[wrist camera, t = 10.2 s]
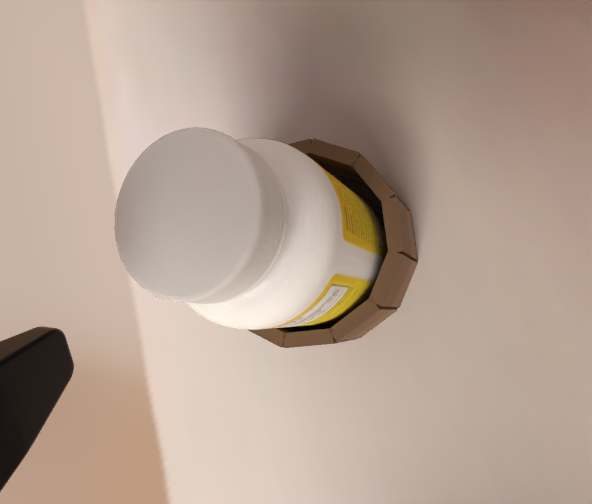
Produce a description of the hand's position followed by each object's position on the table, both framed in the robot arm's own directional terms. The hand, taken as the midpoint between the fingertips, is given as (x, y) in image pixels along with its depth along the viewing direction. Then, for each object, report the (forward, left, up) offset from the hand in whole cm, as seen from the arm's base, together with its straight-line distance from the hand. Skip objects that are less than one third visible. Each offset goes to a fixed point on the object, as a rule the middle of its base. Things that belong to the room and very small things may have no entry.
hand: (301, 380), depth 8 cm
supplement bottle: (+2, +4, -11) cm, 12 cm away
